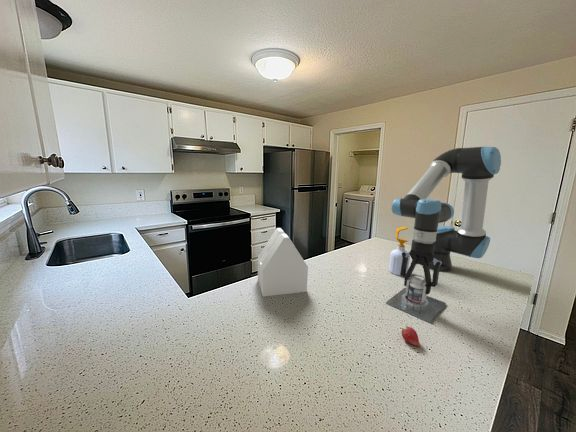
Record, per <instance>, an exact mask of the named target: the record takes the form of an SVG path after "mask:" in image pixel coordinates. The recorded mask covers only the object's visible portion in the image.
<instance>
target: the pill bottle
mask: <svg viewBox="0 0 576 432" xmlns="http://www.w3.org/2000/svg"><path fill="white" fill-rule="evenodd" d="M411 277H412V278H411V279H412V281H411V282H410V285H409V292H408V298H409V299H410V300H411V301H413V302H418V303H420V302H421V300H422V294H423V287H424V285H425V284H424V283H425V278H423V277H421V276H416V275H415V276H411Z"/></svg>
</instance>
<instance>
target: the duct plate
mask: <svg viewBox="0 0 576 432" xmlns="http://www.w3.org/2000/svg"><path fill="white" fill-rule="evenodd" d="M405 293H406V287H404V288H402V289H401V290H400V291H399V292H397V293H396V294H394V295H393V296H392V297H390V298H389V299H388V300H386V302H385V304H387V305H389V306H390V307H391V306H392V307H393V308H396V309H398V310H400V311H402V312H404V313H407V314H409V315H410V316H413V317H416V318H418V319H420V320H422V321H425V322H426V323H429V324H431V323H432V322H433V321H434V320H435V318H437V316H438V315H439V314H440V312H441V311H442V310H443V309H444V308H445V306H446V305H447V302H444V301H442V300H440V299H437V298H434V297H431V296H429V295H427V297H426V300H425V301H424V302H420V303H418V302H413V301H411V300H410V299H409V298H408V296H406V295H405Z"/></svg>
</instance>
